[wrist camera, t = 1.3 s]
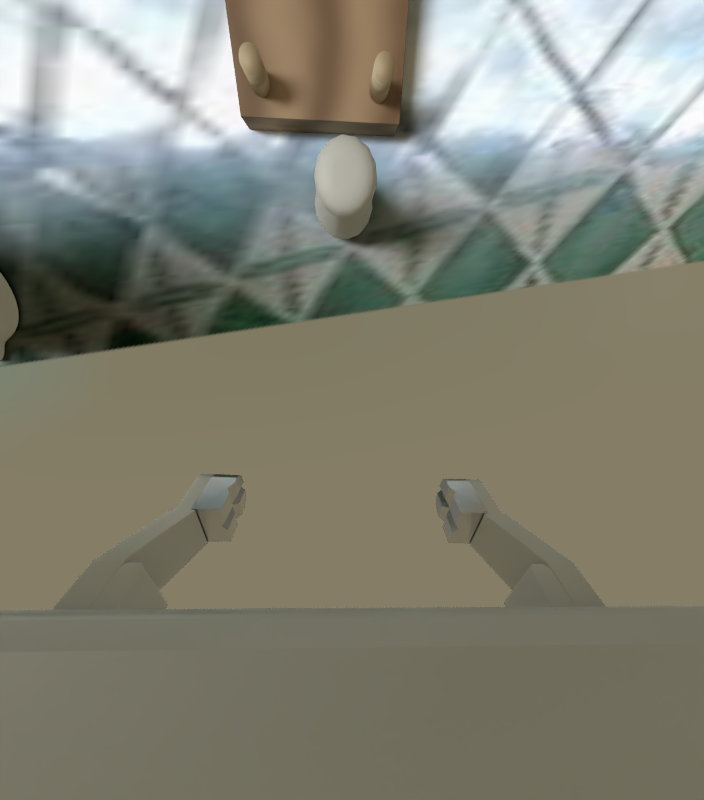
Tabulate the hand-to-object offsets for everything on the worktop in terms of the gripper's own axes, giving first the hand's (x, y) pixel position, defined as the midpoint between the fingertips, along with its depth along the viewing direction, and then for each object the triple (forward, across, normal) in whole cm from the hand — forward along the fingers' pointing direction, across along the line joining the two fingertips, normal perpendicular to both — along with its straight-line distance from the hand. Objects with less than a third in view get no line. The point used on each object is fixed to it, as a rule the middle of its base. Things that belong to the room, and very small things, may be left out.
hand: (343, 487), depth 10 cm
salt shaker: (+27, -1, +13) cm, 30 cm away
